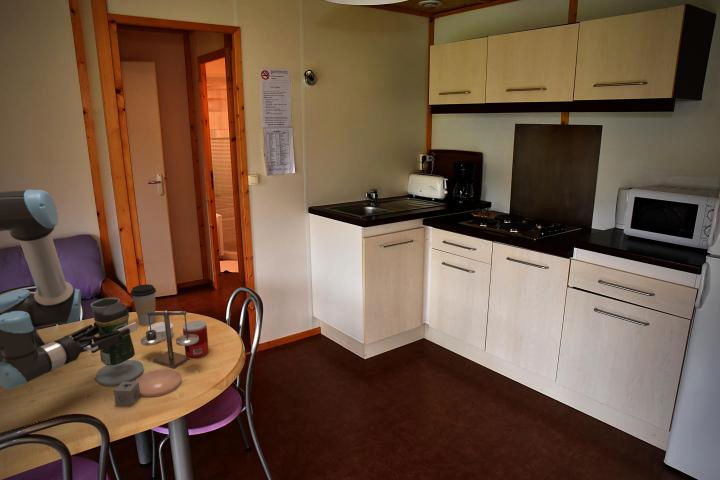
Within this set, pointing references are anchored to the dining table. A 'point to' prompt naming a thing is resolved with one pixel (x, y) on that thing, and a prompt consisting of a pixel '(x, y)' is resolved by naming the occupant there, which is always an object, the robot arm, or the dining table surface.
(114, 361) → the coffee jar
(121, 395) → the dice cube
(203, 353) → the canned food
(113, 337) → the robot arm
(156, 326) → the ramekin
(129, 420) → the dining table surface
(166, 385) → the terracotta dish
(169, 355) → the balance
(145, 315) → the coffee cup
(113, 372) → the slate dish
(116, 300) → the grey-green ceramic planter
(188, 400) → the dining table surface
